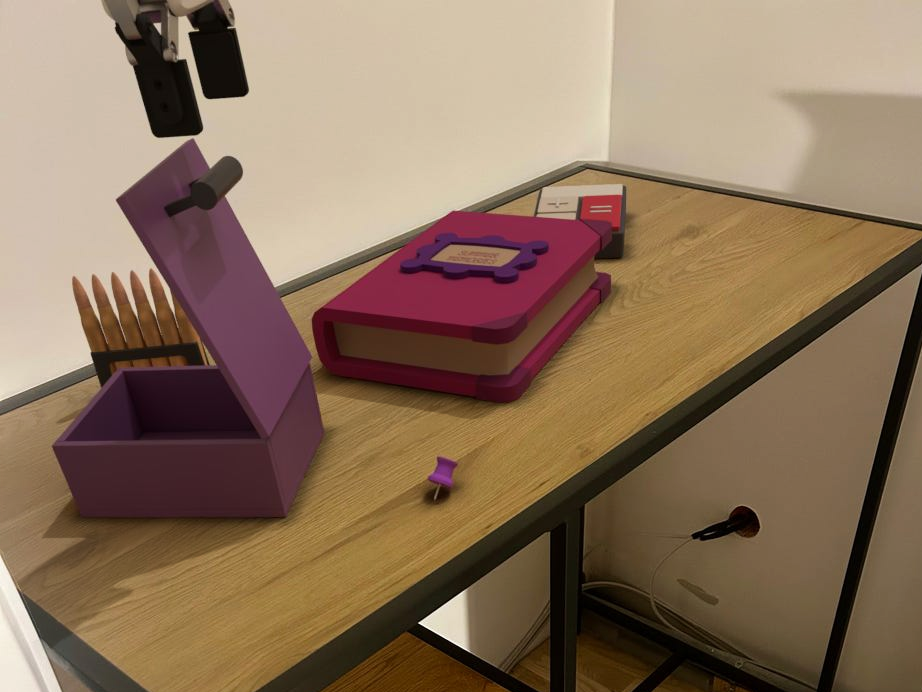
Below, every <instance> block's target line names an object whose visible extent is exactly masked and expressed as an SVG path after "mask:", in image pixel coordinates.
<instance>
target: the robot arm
mask: <svg viewBox="0 0 922 692" xmlns="http://www.w3.org/2000/svg"><path fill="white" fill-rule="evenodd" d="M100 2H101V4H102V5H101V6H102V7H103V10H104V12H105V14H106V15H107V16H108V17H109V18H110V19H111V20H112V21H114V25H115V26H114V31H115V33H116V35H117V36H118V37H119V39H120V40H121V41H122V43H123V44H124V49H125V57H126V59H127V61H128V63H129V65H130V66H131V67H132V68H133V73H134V75H135V79H136V83H137V86H138V89H139V94H140V96H141V100H142V104H143V107H144V111H145V114H146V117H147V121H148V125H149V128H150V131H151V134H152V135H153V137H155V138H157V139H165V138H178V137H179V138H180V137H192V136H193V137H194V136H195V137H196V136H199V135H200V134H201V133H202V132H203V131H204V124H203V120H202V116H201V112H200V107H199V104H198V100H197V96H196V92H195V89H194V85H193V81H192V80H193V79H192V77H191V73H190V69H189V65H188V61H187V58H182V59H179V54H180V53H179V51H180V49H179V42H180V41H179V38H180V37H179V35H180V34H179V18H182V17H186V18H187V20H188V22H189V24H190V26H191V27H192V31H189V32H187V34H188V39H189V44H190V47H191V51H192V56H193V59H194V63H195V68H196V71H197V76H198V80H199V83H200V88H201V91H202V95H203V97H204V98H205V99H206V100H220V99H235V98H244V97H246V96H247V95H248V94H249V93H250V87H249V82H248V77H247V73H246V69H245V68H246V67H245V65H244V59H243V56H242V49H241V46H240V45H241V44H240V42H239V36H238V32H237V28H236V27H235V26H236V17H235V12H234V10H233V7H232V5H231V2H230V1H229V0H100ZM155 24H160V31H159V30H158V28H157V27H156V25H155ZM193 30H194V31H193Z"/></svg>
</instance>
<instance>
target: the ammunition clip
mask: <svg viewBox="0 0 922 692" xmlns="http://www.w3.org/2000/svg"><path fill="white" fill-rule="evenodd" d="M148 282H149V288H150V294H151V297H152V300H153V306H154V309H155V312H154V310H153V308H152V306H151V303H150V301H149V298H148V296H147V292H146V290H145V288H144V285H143V283H142V281H141V279H140V277H139V276H138V275H137V273H136V272H135V271H134V270H133V269H131V270H130V271H129V283H130V290H131V293H132V297H133V300H134V306H135V310H136V312H135V311H134V310H133V309H134V308H133V307H132V304H131V301H130V300H129V297H128V294H127V291H126V289H125V286H124V285H123V283H122V281H121V279H120V278H119V276H118V275H117V273H115V272H114V271H112V272H111V275H110V284H111V290H112V295H113V299H114V301H115V306H116V309H117V314H118V316H117V314H116V312H115V311H114V308H113V305H112V303H111V301H110V299H109V296H108V294H107V291H106V289H105V287H104V285H103V283H102V282H101V280H100V279H99V278H98V276H97V275H96V274H94V273H92V274H91V288H92V294H93V298H94V301H95V304H96V308H97V311H98V314H99V318H98V316H97V315H96V313H95V310H94V308H93V305H92V303H91V301H90V299H89V296H88V294H87V291H86V289H85V288H84V286H83V284H82V283H81V281H80V280H79V279H78V278H77V277H76V275H73V276H72V280H71V286H72V292H73V295H74V300H75V303H76V306H77V310H78V313H79V317H80V324H81V327H82V330H83V332H84V335H85V339H86V341H87V344H88V347H89V350H90V357H91V360H92V364H93V367H94V370H95V373H96V376H97V379H98V382H99V385H100V389H101V388H102V387H103V386H104V384H105V383H106V382H107V381H108V380H109V379H110V378H111V376H112V375H113V374H114V373H115V372H116V370H117V369H118V368H124V367H165V366H207V365H211V364H210V361H209V358H208V355H207V353H206V348H205V345H204V344H203V342H202V340H201V339H200V337H199V335H198V334H197V332H196V331H195V329H194V327H193V326H192V324H191V322H190V321H189V319H188V318H187V316H186V314H185V313H184V311H183V309H182V308H181V306H180V304H179V303H178V301H177V300H176V298H175V296H174V295H173V293H172V291H171V290H170V289H169V291H170V295H171V300H172V305H173V309H172V308H171V305H170V303H169V300H168V298H167V294H166V292H165V289H164V286H163V284H162V282H161V279H160V278H159V276H158V275H157V272H155V270H154V269H153V268H149V271H148ZM173 310H174V312H173Z"/></svg>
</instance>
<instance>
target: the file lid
mask: <svg viewBox="0 0 922 692" xmlns="http://www.w3.org/2000/svg"><path fill="white" fill-rule="evenodd" d="M243 175H244V168H243V166H242V163H241V162H240V161H239V160H238V159H237V158H235V156H231V155H225V156H222V157H221V158H220V159H219V160H217V161H216V163H215V164H213V165H212V166H211V167H210V165H209V164H208V162H207V160H206V158H205V157H204V154H203V153H202V151H201V149H200V147H199V145H198V143H197V142H196V140H195V138H194V137H192V138H190V139H188V140H186V141H185V142H184V143H182V144H181V145H180V146H179V147H177V148H176V149H175V150H174V151H172V152H171V153H170V154H169V155H167V156H166V157H165V158H164V159H163V160H162V161H161V162H159V163H158V164H157V165H155V166H154V167H153V168H152V169H151V170H149V171H148V172H147V173H146V174H145V175H143V176H142V177H141V178H139V179H138V180H137V181H136V182H135V183H134V184H132V185H131V186H130V187H129V188H127V189H126V190H124V192H123V193H121V194H120V195H119V196H117V198H115V202H116V204H117V205H118V206H119V208H120V210H121V211H122V214H123V215H124V217H125V218H126V220H127V221H128V223H129V225H130V226H131V228H132V229H133V231H134V233H135V235H136V236H137V238H138V240H139V241H140V243H141V244H142V246H143V247H144V249H145V251H146V253H147V254H148V256H149V257H150V259H151V260H152V262H153V264H154V265H155V267H156V268H157V270H158V272H159V274H160V275H161V277H162V278H163V280H164V282H165V284H166V285H167V287H168V288H169V291H170V290H171V291H172V293H173V295H174V296H175V298H176V300H177V301H178V303H179V304H180V306H181V308H182V309H183V311H184V313H185V314H186V316H187V318H188V319H189V321H190V322H191V324H192V326H193V327H194V329H195V331H196V332H197V334H198V335H199V337H200V339H201V340H202V343H203V346H204V348H205V350H207V352H208V354H209V355H210V357H211V358H212V360H213V362H214V364H215V365H217V366H218V368H219V370H220V371H221V373H222V375H223V376H224V378H225V380H226V381H227V383H228V384H229V386H230V388H231V389H232V391H233V393H234V394H235V396H236V397H237V399H238V401H239V402H240V404H241V406H242V407H243V409H244V411H245V412H246V414H247V415H248V417H249V419H250V420H251V422H252V424H253V425H254V427H255V428H256V430H257V432H258V433H259V435H260V437H261V438H262V439H264V438H267V437H269V436H270V435H271V433H272V431H273V429H274V427H275V425H276V424H277V422H278V420H279V418H280V416H281V414H282V412H283V411H284V409H285V407H286V405H287V403H288V401H289V399H290V398H291V396H292V394H293V392H294V390H295V388H296V386H297V385H298V383H299V381H300V379H301V377H302V375H303V373H304V372H305V370H306V368H307V366H308V364H309V363H311V360H312V359H313V356H312V353H311V351H310V349H309V348H308V346H307V344H306V342H305V340H304V339H303V337H302V335H301V333H300V332H299V331H300V330H298V328H297V326H296V324H295V322H294V321H293V318H292V317H291V315H290V313H289V311H288V309H287V308H286V306H285V304H284V302H283V300H282V298H281V296H280V295H279V293H278V291H277V289H276V288H275V286H274V283H273V281H272V279H271V278H270V276H269V275H268V273H267V271H266V269H265V267H264V265H263V263H262V262H261V259H260V258H259V256H258V254H257V252H256V250H255V248H254V246H253V245H252V242H250V239H249V237H248V236H247V234H246V232H245V230H244V228H243V227H242V224H241V223H240V221H239V219H238V217H237V216H236V213H235V211H234V210H233V208H232V206H231V204H230V203H229V201H228V199H227V197H226V195H228V194H229V192H230V191H231V190H232V189H233V188H234V187H235V186H236V185H237V184H238V183H239V182H240V181H241V180H242V179H243Z"/></svg>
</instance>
